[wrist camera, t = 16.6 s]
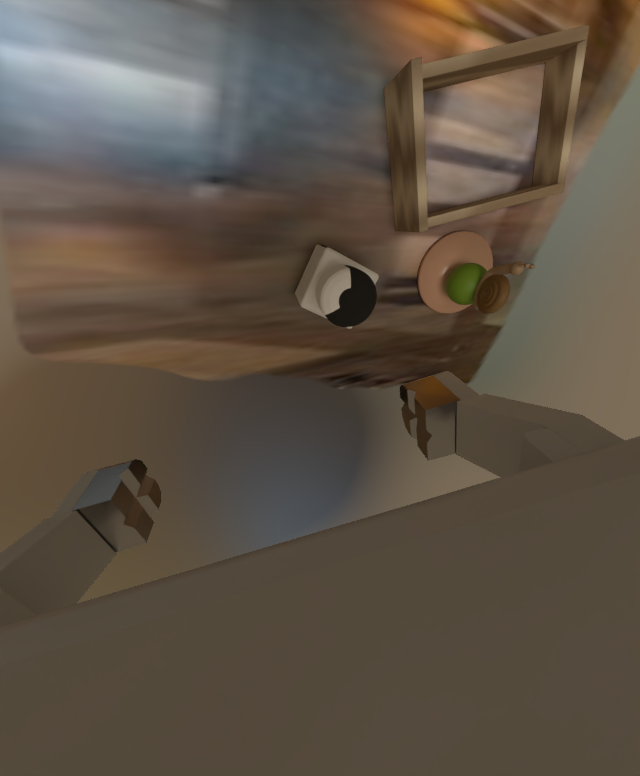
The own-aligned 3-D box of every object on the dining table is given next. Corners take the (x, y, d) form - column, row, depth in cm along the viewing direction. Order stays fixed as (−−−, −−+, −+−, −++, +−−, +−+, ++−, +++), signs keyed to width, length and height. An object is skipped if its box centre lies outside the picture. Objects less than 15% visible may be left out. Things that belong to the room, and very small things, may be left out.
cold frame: (383, 89, 33) (411, 59, 27) (555, 47, 34) (619, 9, 28) (395, 230, 40) (419, 232, 34) (538, 193, 41) (586, 188, 35)
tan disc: (414, 242, 41) (417, 242, 41) (491, 222, 42) (495, 222, 41) (419, 320, 47) (421, 321, 46) (487, 301, 47) (490, 302, 46)
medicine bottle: (363, 267, 42) (396, 282, 31) (338, 315, 44) (362, 344, 34) (316, 242, 39) (336, 249, 29) (293, 294, 42) (304, 318, 31)
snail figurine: (482, 256, 43) (553, 267, 32) (465, 302, 46) (525, 326, 35) (448, 249, 42) (511, 259, 31) (433, 297, 45) (485, 320, 34)
